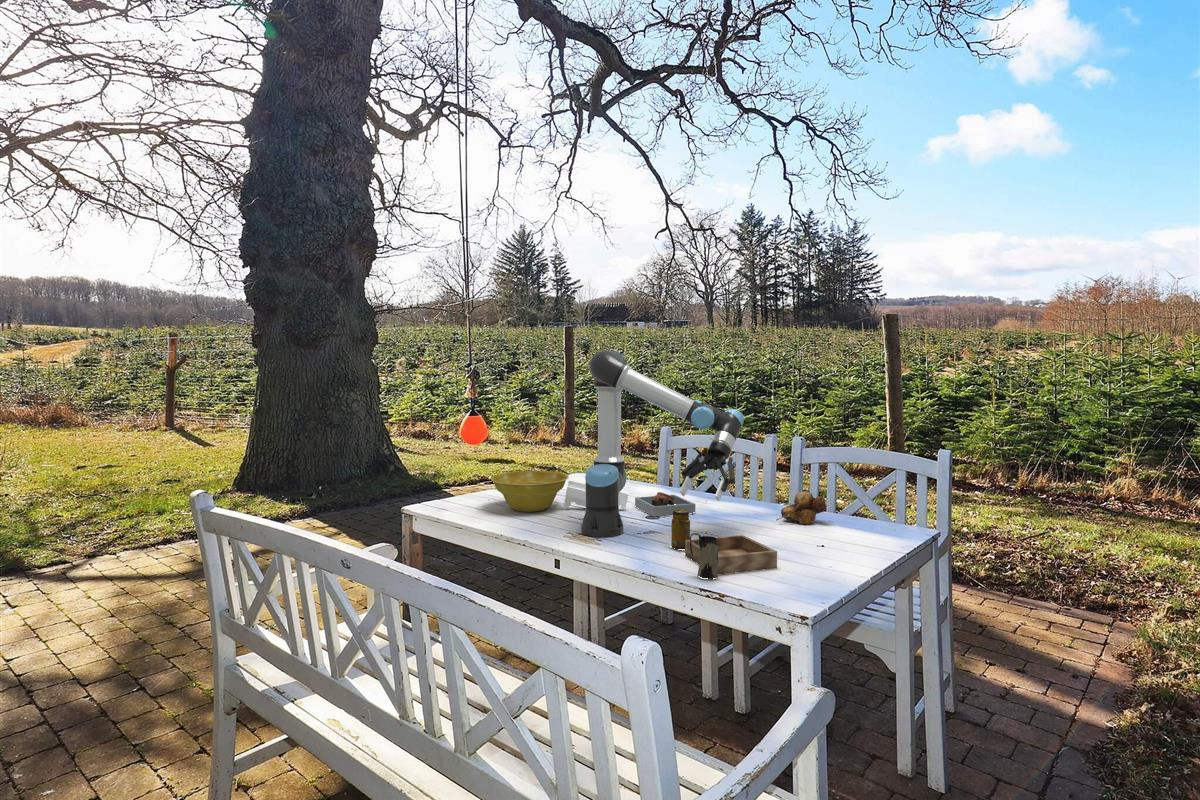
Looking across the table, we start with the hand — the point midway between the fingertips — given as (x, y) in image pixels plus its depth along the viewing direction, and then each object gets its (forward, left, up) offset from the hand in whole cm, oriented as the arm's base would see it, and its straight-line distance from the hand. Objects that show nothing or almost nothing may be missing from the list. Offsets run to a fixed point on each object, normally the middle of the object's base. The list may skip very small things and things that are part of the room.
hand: (699, 496), depth 227 cm
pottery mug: (+7, +48, -16) cm, 51 cm away
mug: (-16, -35, -15) cm, 41 cm away
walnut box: (-2, -25, -15) cm, 29 cm away
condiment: (-9, -6, -16) cm, 19 cm away
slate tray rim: (+8, +47, -15) cm, 50 cm away
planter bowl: (-43, +69, -15) cm, 83 cm away
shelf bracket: (-18, +58, -16) cm, 63 cm away
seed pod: (+48, +12, -16) cm, 52 cm away
